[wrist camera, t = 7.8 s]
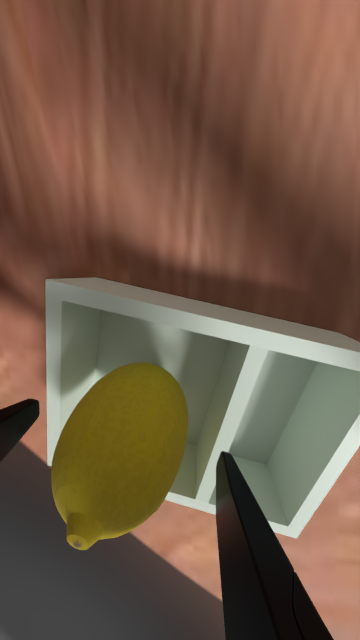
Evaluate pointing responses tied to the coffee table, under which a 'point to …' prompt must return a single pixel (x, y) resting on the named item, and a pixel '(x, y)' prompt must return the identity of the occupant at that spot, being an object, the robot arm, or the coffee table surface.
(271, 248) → the coffee table surface
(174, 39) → the coffee table surface
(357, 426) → the organizer box
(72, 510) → the lemon
